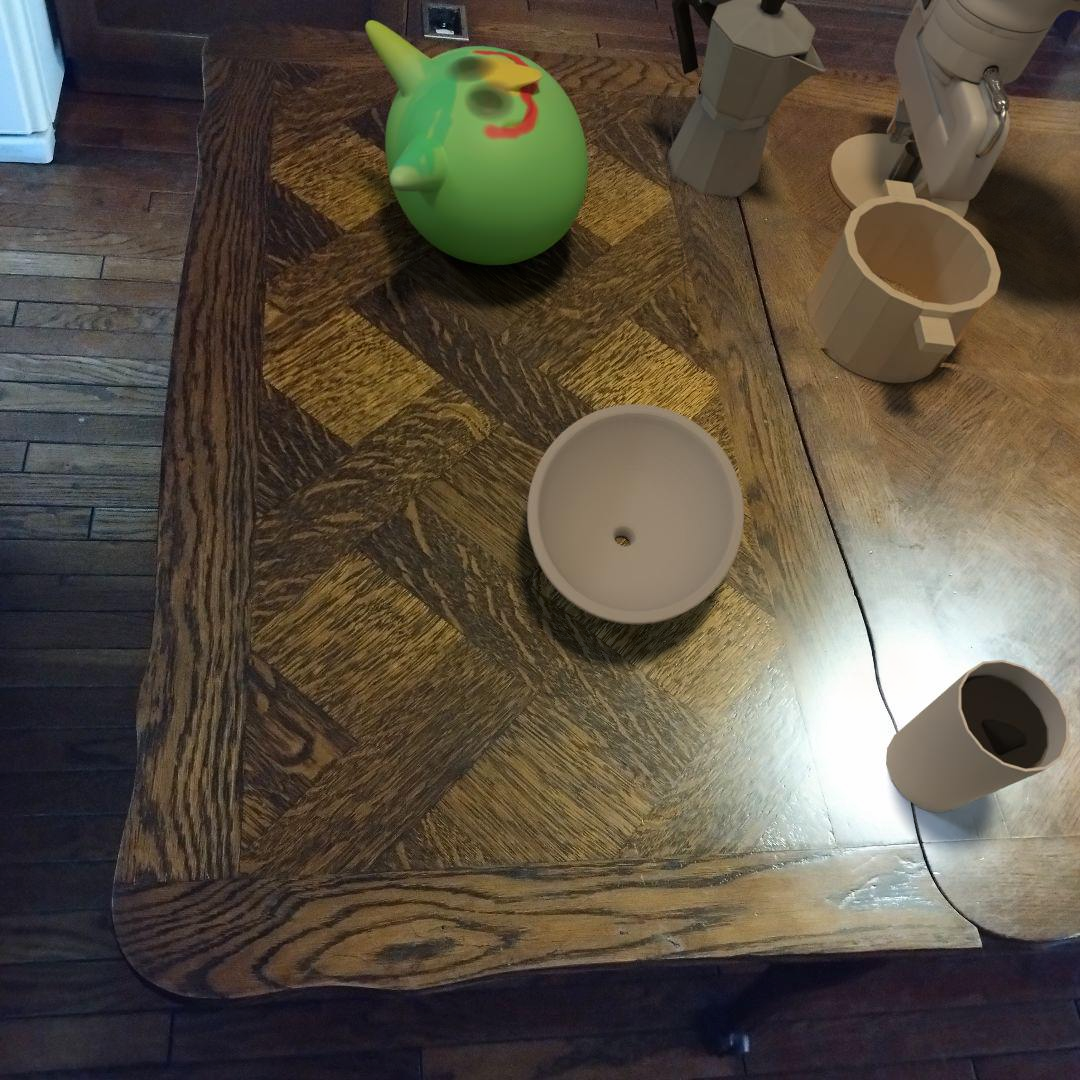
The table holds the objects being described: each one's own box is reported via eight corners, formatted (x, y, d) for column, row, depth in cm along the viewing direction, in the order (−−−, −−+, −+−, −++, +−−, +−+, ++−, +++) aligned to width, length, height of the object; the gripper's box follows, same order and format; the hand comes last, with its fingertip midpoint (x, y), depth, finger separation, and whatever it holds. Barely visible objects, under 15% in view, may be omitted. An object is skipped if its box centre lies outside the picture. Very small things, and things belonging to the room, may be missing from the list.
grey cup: (996, 801, 64) (1093, 752, 55) (911, 832, 62) (998, 786, 53) (944, 708, 67) (1028, 647, 58) (861, 735, 65) (936, 676, 56)
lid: (947, 153, 99) (971, 112, 95) (976, 249, 92) (1003, 210, 88) (817, 135, 97) (836, 92, 93) (837, 231, 90) (858, 190, 86)
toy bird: (594, 296, 81) (635, 146, 69) (390, 312, 77) (394, 156, 65) (542, 150, 90) (570, -8, 77) (355, 157, 85) (353, -8, 73)
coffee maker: (791, 187, 92) (875, 0, 77) (738, 229, 88) (816, 41, 73) (668, 104, 96) (726, -90, 81) (612, 141, 92) (661, -56, 76)
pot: (925, 259, 90) (973, 184, 83) (966, 416, 81) (1025, 347, 73) (792, 242, 88) (830, 164, 81) (819, 400, 79) (864, 328, 72)
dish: (566, 417, 74) (578, 374, 70) (745, 485, 74) (768, 446, 69) (481, 608, 65) (489, 572, 61) (684, 689, 64) (707, 658, 60)
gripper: (1049, 120, 76) (957, 255, 88) (991, -30, 86) (915, 108, 98) (973, 108, 75) (890, 246, 87) (923, -42, 85) (855, 99, 97)
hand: (903, 171), depth 93 cm, fingers open, 8 cm apart
